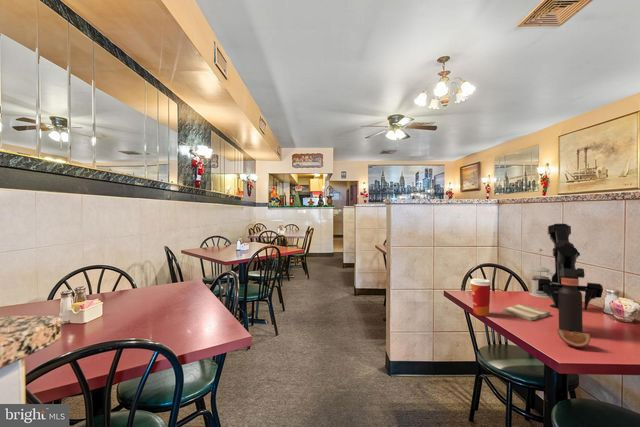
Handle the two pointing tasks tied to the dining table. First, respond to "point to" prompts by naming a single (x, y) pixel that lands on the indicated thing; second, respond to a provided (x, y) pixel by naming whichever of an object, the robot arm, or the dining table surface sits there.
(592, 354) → the dining table surface
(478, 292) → the coffee cup
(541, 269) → the french press
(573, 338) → the fruit slice
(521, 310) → the napkin
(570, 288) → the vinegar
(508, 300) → the dining table surface
